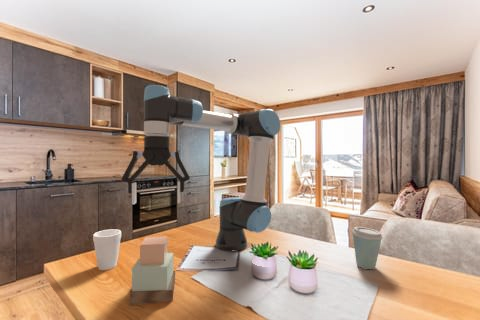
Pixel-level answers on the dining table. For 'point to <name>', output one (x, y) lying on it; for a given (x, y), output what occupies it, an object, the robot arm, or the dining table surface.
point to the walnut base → (153, 295)
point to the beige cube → (153, 250)
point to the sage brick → (152, 275)
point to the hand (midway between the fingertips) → (157, 203)
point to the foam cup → (107, 248)
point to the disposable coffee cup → (366, 246)
